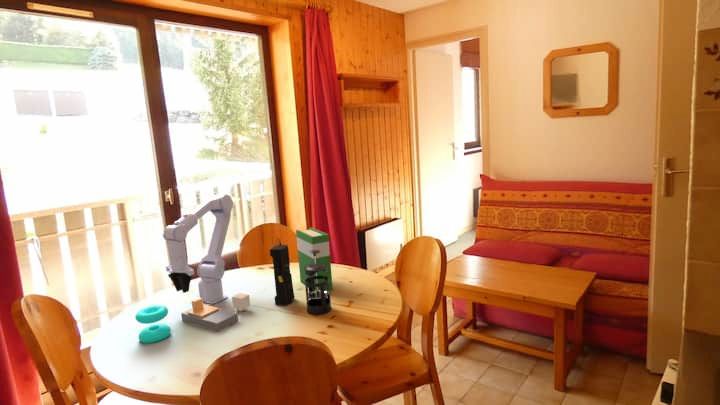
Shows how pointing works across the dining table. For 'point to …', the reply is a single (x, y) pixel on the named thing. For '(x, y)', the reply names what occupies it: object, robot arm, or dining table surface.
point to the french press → (317, 297)
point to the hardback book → (310, 242)
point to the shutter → (201, 308)
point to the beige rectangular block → (241, 301)
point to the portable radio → (282, 274)
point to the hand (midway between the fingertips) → (182, 291)
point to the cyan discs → (156, 330)
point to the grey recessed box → (212, 319)
